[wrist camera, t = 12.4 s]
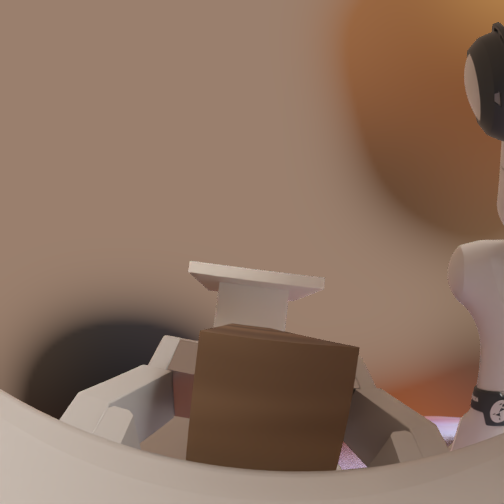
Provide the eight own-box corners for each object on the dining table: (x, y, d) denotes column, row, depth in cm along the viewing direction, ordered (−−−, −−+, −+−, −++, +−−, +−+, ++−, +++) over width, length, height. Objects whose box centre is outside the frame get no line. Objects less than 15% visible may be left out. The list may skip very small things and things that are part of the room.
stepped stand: (189, 462, 35) (209, 283, 41) (268, 471, 35) (294, 293, 41) (127, 612, 5) (129, 187, 11) (302, 630, 5) (415, 226, 11)
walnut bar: (227, 360, 22) (232, 323, 23) (265, 365, 22) (270, 328, 23) (184, 471, 4) (199, 331, 5) (333, 481, 4) (359, 346, 5)
